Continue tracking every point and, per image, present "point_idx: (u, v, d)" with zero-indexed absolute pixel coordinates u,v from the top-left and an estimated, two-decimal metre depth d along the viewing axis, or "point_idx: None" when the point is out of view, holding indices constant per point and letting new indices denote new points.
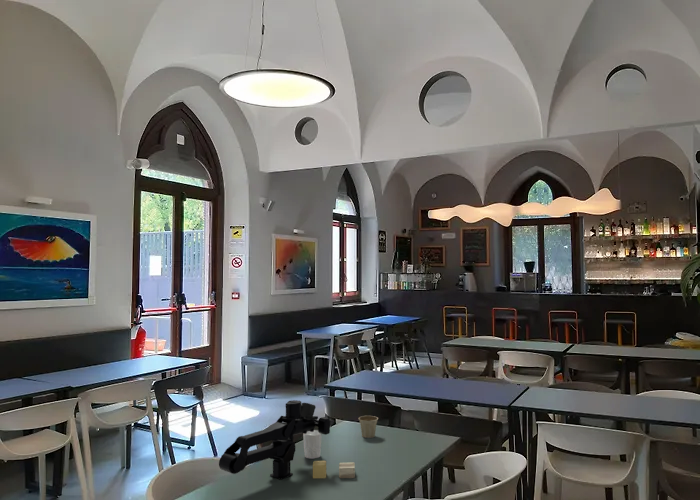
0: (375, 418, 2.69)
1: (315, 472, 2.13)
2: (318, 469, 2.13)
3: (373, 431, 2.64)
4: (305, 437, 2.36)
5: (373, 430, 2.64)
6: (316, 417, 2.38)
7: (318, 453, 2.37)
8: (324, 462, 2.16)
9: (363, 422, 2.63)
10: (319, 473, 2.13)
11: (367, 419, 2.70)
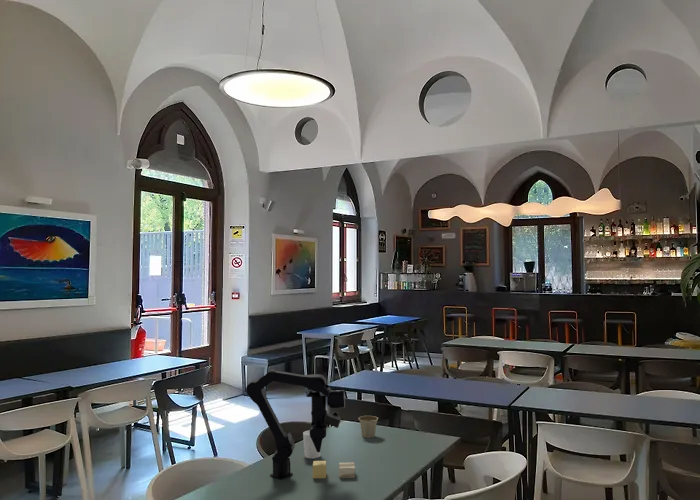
0: (375, 418, 2.69)
1: (315, 472, 2.13)
2: (318, 469, 2.13)
3: (373, 431, 2.64)
4: (305, 437, 2.36)
5: (373, 430, 2.64)
6: None
7: (318, 453, 2.37)
8: (324, 462, 2.16)
9: (363, 422, 2.63)
10: (319, 473, 2.13)
11: (367, 419, 2.70)
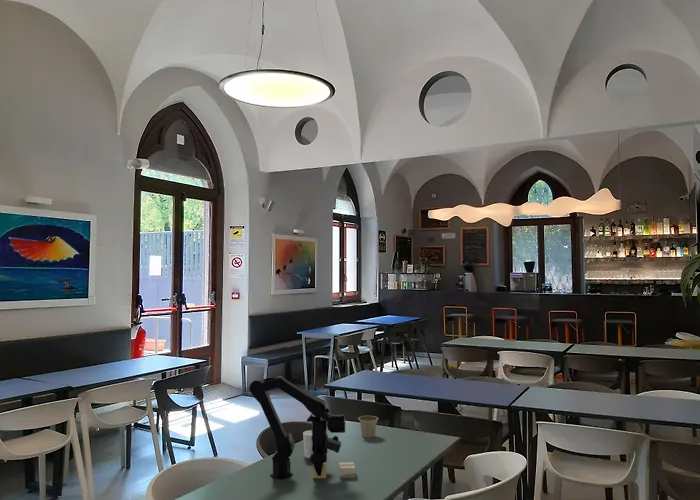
0: (375, 418, 2.69)
1: (315, 471, 2.13)
2: None
3: (373, 431, 2.64)
4: (305, 437, 2.36)
5: (373, 430, 2.64)
6: None
7: None
8: (324, 462, 2.16)
9: (363, 422, 2.63)
10: None
11: (367, 419, 2.70)
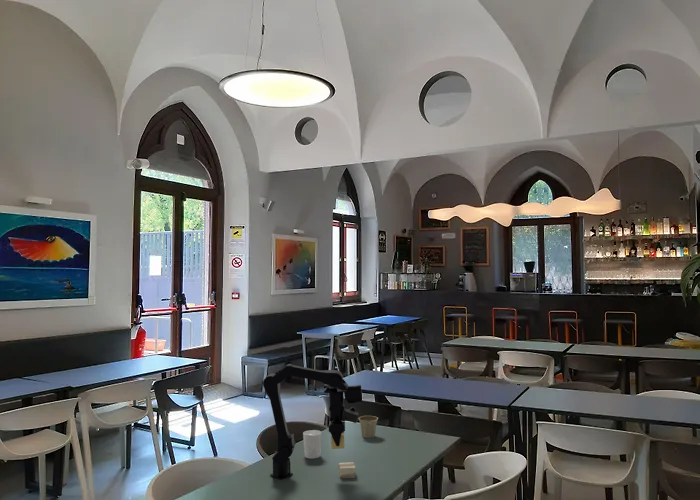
0: (375, 418, 2.69)
1: (334, 442, 2.14)
2: None
3: (373, 431, 2.64)
4: (305, 437, 2.36)
5: (373, 430, 2.64)
6: None
7: (318, 453, 2.37)
8: (342, 433, 2.17)
9: (363, 422, 2.63)
10: None
11: (367, 419, 2.70)
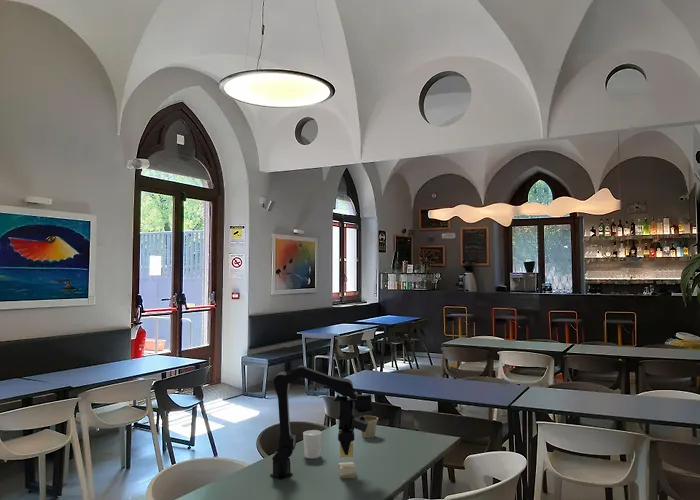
0: (375, 418, 2.69)
1: (343, 451, 2.14)
2: None
3: (373, 431, 2.64)
4: (305, 437, 2.36)
5: (373, 430, 2.64)
6: None
7: (318, 453, 2.37)
8: (351, 441, 2.17)
9: None
10: None
11: (367, 419, 2.70)
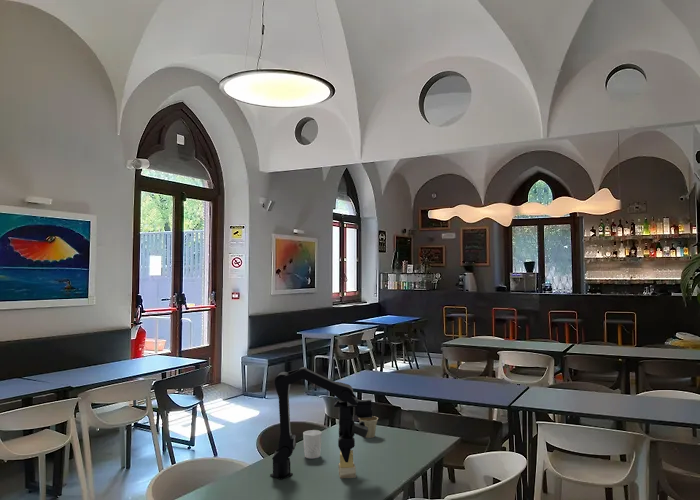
0: (375, 418, 2.69)
1: (342, 461, 2.14)
2: None
3: (373, 431, 2.64)
4: (305, 437, 2.36)
5: (373, 430, 2.64)
6: None
7: (318, 453, 2.37)
8: (351, 451, 2.17)
9: None
10: (346, 462, 2.14)
11: (367, 419, 2.70)
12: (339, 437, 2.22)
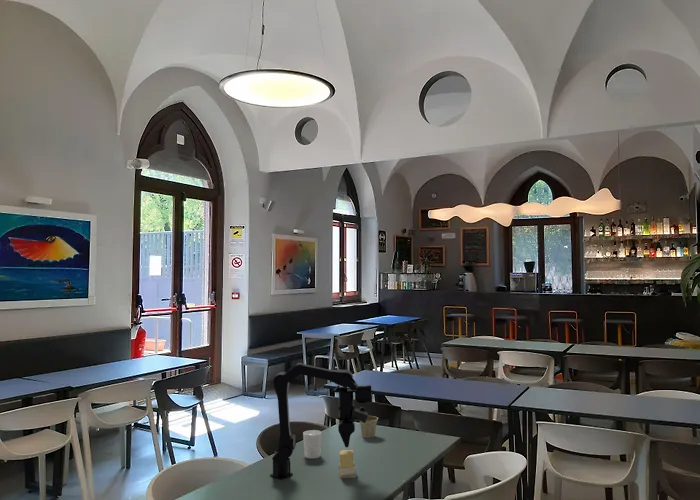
0: (375, 418, 2.69)
1: (342, 461, 2.14)
2: (345, 458, 2.14)
3: (373, 431, 2.64)
4: (305, 437, 2.36)
5: (373, 430, 2.64)
6: None
7: (318, 453, 2.37)
8: (351, 451, 2.17)
9: None
10: (346, 462, 2.14)
11: (367, 419, 2.70)
12: (339, 423, 2.22)
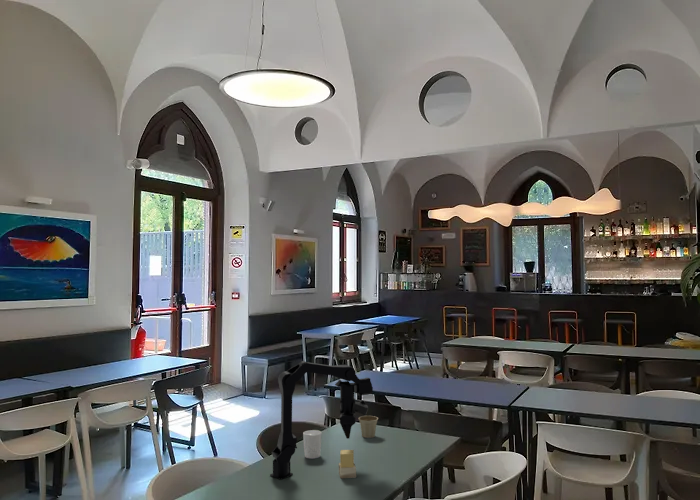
0: (375, 418, 2.69)
1: (343, 460, 2.14)
2: (346, 458, 2.14)
3: (373, 431, 2.64)
4: (305, 437, 2.36)
5: (373, 430, 2.64)
6: None
7: (318, 453, 2.37)
8: (351, 451, 2.17)
9: (363, 422, 2.63)
10: (347, 462, 2.14)
11: (367, 419, 2.70)
12: (340, 415, 2.32)
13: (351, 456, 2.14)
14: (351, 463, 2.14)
